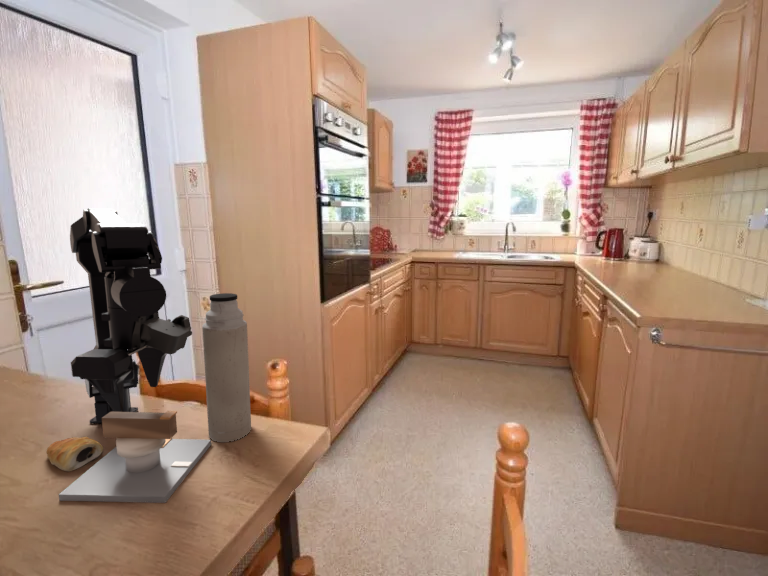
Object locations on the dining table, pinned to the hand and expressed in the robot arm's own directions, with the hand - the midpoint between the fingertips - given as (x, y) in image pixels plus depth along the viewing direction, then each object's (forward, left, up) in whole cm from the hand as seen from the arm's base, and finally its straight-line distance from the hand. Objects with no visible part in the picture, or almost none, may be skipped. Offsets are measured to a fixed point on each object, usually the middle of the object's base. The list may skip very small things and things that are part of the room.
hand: (137, 398), depth 66 cm
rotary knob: (0, 0, -9) cm, 9 cm away
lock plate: (0, 0, -13) cm, 13 cm away
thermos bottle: (-13, +10, -13) cm, 21 cm away
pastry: (-3, -14, -13) cm, 20 cm away
